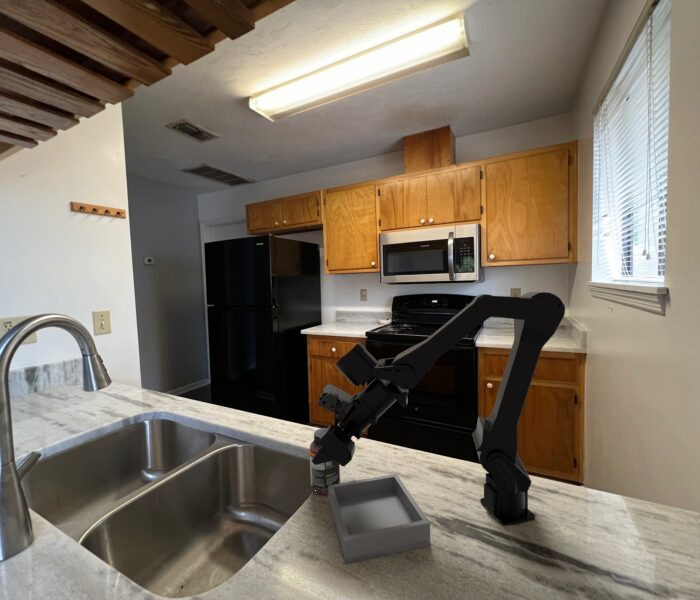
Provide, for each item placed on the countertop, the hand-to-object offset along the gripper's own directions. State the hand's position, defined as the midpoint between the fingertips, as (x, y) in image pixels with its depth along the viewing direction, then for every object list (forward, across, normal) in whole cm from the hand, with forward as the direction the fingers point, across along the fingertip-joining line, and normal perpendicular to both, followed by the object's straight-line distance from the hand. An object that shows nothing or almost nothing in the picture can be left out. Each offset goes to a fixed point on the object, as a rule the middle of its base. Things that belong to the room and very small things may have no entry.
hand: (318, 454), depth 64 cm
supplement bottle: (+4, 0, +6) cm, 7 cm away
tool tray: (-4, +8, +13) cm, 16 cm away
